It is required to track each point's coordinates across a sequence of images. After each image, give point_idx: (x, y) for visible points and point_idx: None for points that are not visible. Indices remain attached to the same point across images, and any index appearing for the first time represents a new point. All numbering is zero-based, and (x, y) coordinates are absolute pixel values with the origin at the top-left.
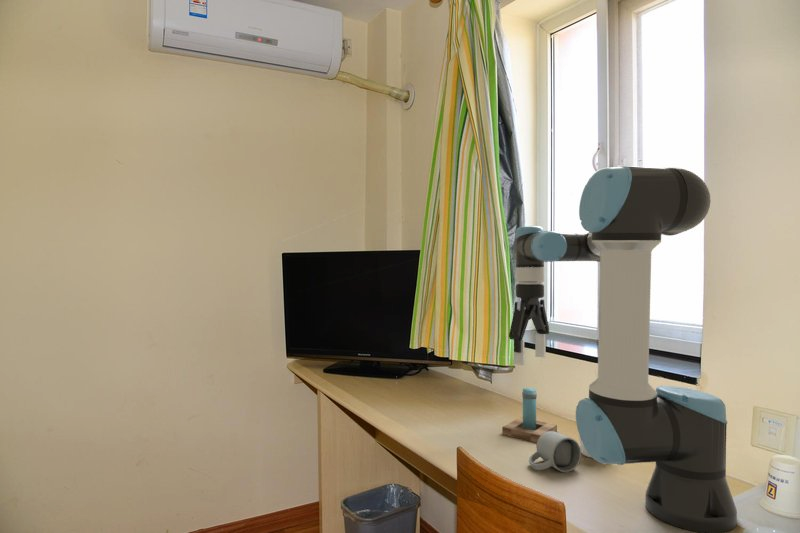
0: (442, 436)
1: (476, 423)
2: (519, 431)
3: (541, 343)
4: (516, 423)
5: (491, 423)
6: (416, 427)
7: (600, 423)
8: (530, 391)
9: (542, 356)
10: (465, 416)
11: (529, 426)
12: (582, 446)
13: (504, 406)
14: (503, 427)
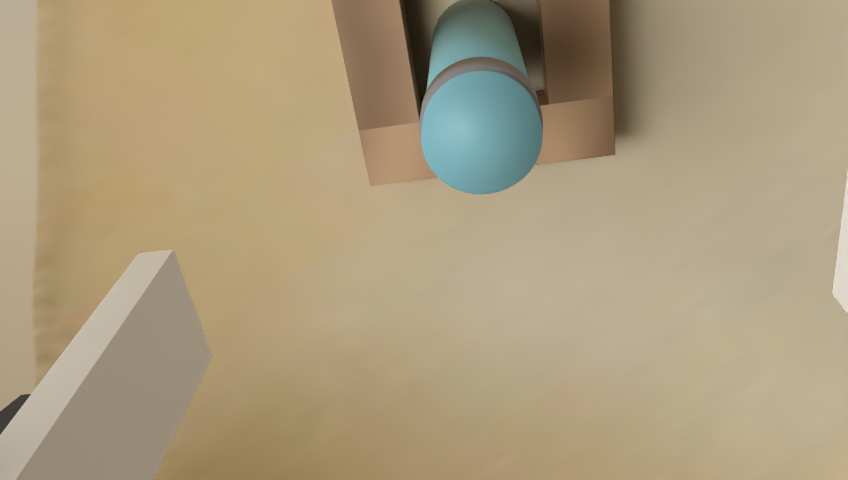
0: (838, 323)
1: (542, 328)
2: (610, 38)
3: (108, 417)
4: None
5: (485, 279)
6: (791, 465)
7: None
8: (527, 100)
9: (177, 281)
10: (486, 420)
11: (512, 30)
12: None
13: None
14: (614, 146)
